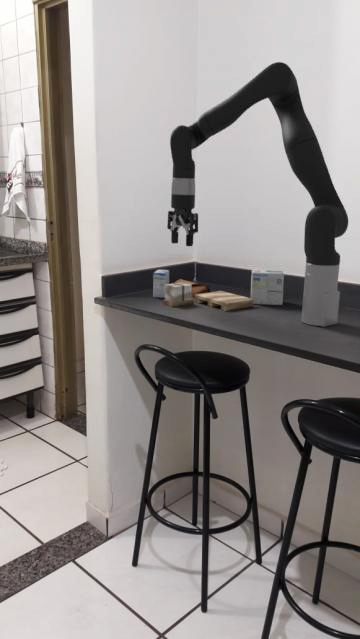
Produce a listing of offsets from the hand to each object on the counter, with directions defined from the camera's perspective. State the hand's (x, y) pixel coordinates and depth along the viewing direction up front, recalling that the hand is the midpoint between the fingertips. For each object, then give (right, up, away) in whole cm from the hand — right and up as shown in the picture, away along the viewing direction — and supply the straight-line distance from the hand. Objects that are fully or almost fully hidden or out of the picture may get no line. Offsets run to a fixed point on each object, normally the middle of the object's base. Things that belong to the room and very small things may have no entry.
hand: (181, 244), depth 167 cm
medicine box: (-7, -16, +16) cm, 24 cm away
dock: (+14, -19, +4) cm, 24 cm away
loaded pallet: (-1, -19, +4) cm, 20 cm away
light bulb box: (+29, -19, +8) cm, 35 cm away
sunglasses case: (+2, -15, +23) cm, 27 cm away
